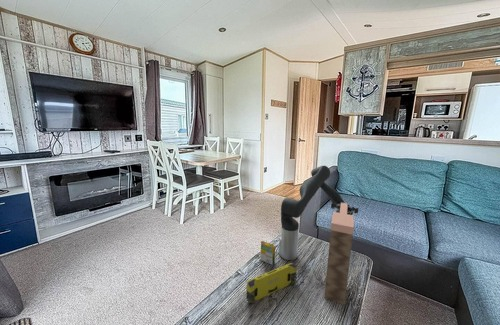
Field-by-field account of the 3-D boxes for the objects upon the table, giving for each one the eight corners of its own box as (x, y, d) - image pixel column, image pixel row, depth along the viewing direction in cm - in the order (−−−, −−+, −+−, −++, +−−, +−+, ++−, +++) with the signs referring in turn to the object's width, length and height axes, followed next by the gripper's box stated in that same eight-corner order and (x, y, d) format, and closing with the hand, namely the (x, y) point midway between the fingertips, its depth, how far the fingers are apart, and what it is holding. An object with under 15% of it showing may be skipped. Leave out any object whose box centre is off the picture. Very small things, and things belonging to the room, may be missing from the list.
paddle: (330, 230, 84) (331, 222, 83) (335, 207, 107) (335, 201, 106) (352, 234, 80) (353, 227, 80) (352, 210, 103) (353, 204, 103)
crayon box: (274, 261, 113) (275, 242, 111) (272, 265, 111) (273, 244, 109) (262, 257, 117) (263, 238, 115) (260, 260, 115) (260, 240, 112)
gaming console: (290, 278, 101) (292, 260, 100) (297, 284, 98) (298, 265, 96) (244, 300, 89) (244, 279, 87) (249, 307, 85) (249, 286, 83)
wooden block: (324, 297, 90) (330, 228, 85) (327, 279, 101) (333, 217, 95) (344, 304, 87) (352, 233, 81) (345, 285, 98) (352, 220, 92)
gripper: (333, 201, 133) (331, 197, 119) (358, 206, 127) (359, 202, 113) (331, 213, 132) (329, 210, 118) (356, 218, 125) (358, 216, 111)
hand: (344, 206), depth 115 cm, fingers open, 8 cm apart
